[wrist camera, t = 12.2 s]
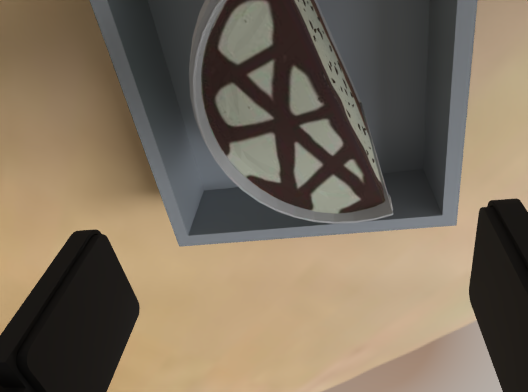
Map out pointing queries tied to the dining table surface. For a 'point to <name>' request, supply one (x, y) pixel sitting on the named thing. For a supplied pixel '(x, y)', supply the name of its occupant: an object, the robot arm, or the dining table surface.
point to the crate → (366, 84)
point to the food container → (284, 111)
